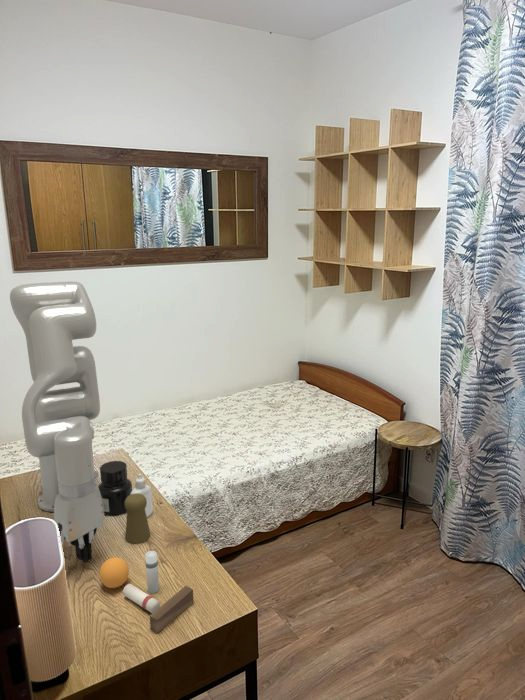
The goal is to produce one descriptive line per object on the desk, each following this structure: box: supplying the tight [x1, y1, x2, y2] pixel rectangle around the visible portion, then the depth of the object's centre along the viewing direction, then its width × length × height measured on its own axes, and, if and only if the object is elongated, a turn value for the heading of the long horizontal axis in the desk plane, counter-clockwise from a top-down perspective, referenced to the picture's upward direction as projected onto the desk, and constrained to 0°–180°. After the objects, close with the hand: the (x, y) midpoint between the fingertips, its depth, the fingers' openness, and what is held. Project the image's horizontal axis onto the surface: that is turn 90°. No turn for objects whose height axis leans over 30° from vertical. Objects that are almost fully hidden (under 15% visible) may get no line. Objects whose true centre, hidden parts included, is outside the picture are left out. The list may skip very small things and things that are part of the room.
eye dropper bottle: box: [130, 473, 154, 518], centre depth 135 cm, size 4×6×12 cm
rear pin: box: [144, 550, 160, 594], centre depth 109 cm, size 2×2×8 cm
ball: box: [99, 556, 130, 589], centre depth 111 cm, size 6×6×6 cm
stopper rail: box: [149, 585, 195, 634], centre depth 103 cm, size 2×10×3 cm, turn 145°
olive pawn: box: [124, 493, 151, 545], centre depth 126 cm, size 6×6×11 cm
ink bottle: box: [98, 460, 133, 516], centre depth 139 cm, size 10×9×12 cm
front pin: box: [122, 583, 161, 614], centre depth 106 cm, size 2×2×8 cm
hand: (84, 558), depth 117 cm, fingers closed
